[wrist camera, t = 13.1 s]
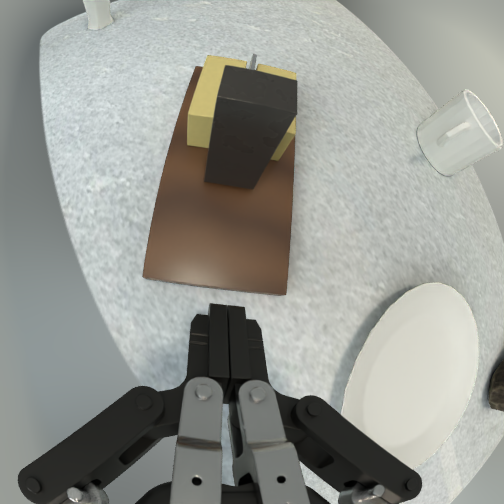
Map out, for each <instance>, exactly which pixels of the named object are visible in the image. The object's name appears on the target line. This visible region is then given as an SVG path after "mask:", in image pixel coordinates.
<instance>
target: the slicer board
mask: <svg viewBox="0 0 504 504" xmlns="http://www.w3.org/2000/svg"><path fill="white" fill-rule="evenodd" d="M202 69H203V67H199V66H196V67H195V70H194V72H193V75H192V78H191V80H190V83H189V86H188V89H187V92H186V95H185V98H184V101H183V104H182V107H181V110H180V113H179V116H178V119H177V122H176V126H175V129H174V132H173V136H172V139H171V143H170V146H169V150H168V153H167V157H166V161H165V165H164V169H163V173H162V177H161V181H160V185H159V189H158V194H157V198H156V203H155V208H154V212H153V217H152V222H151V228H150V233H149V238H148V244H147V250H146V256H145V263H144V269H143V277H144V278H145V279H149V280H156V281H163V282H170V283H177V284H184V285H192V286H199V287H207V288H215V289H223V290H231V291H240V292H249V293H258V294H268V295H278V296H281V295H286V291H287V279H288V266H289V253H290V238H291V221H292V203H293V182H294V157H295V136H294V137H293V139H292V141H291V142H290V144H289V145H288V147H287V148H286V150H285V151H284V153H283V155H282V156H281V158H280V159H279V161H276V160H271V159H270V161H269V163H268V165H267V166H266V168H265V170H264V172H263V173H262V175H261V177H260V179H259V180H258V182H257V184H256V186H255V188H254V189H253V190H252V189H247V188H241V187H235V186H229V185H222V184H216V183H210V182H204V177H205V169H206V162H207V155H208V148H204V147H197V146H190V145H187V127H188V112H189V109H190V105H191V102H192V99H193V96H194V93H195V90H196V87H197V84H198V81H199V78H200V75H201V72H202Z"/></svg>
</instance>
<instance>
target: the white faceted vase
mask: <svg viewBox="0 0 504 504" xmlns="http://www.w3.org/2000/svg"><path fill="white" fill-rule="evenodd" d="M83 2H84V5H85V9H86V13H87V16H88V19H89V21H88V29H92V30H100V29H102V28H104V27H106V26H108V25H110V24H111V23H113V22H114V20H113V18H112V16H111V14H110V0H83Z"/></svg>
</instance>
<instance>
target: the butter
mask: <svg viewBox="0 0 504 504" xmlns="http://www.w3.org/2000/svg"><path fill="white" fill-rule="evenodd" d="M246 64H247V61H242V60H237V59H231V58H225V57H218V56H211V55H208V56H207V58H206V61H205V63H204V66H203V69H202V72H201V75H200V78H199V81H198V84H197V87H196V90H195V93H194V96H193V99H192V102H191V105H190V109H189V112H188V127H187V145H190V146H197V147H204V148H209V141H210V134H211V128H212V122H213V115H214V109H215V104H216V98H217V94H218V90H219V86H220V82H221V78H222V75H223V71H224V67H225V65H230V66H236V67H242V68H246ZM256 70H257V71H261V72H266V73H270V74H274V75H278V76H282V77H286V78H290V79H293V80H296V73H294V72H291V71H287V70H283V69H279V68H275V67H271V66H267V65H263V64H258V66H257V68H256ZM295 134H296V117H295V118H294V120H293V122H292V123H291V125H290V127H289V128H288V130H287V132H286V134H285V135H284V137H283V139H282V140H281V142H280V144H279V146H278V147H277V149H276V151H275V152H274V154H273V156H272V158H271V160H276V161H279V159H280V158H281V156H282V155H283V153H284V151H285V150H286V148H287V147H288V145H289V144H290V142H291V141H292V139H293V137H294V136H295Z"/></svg>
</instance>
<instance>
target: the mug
mask: <svg viewBox="0 0 504 504" xmlns="http://www.w3.org/2000/svg"><path fill="white" fill-rule="evenodd" d="M417 137H418V142H419V144H420V147H421V149H422V151H423V153H424V155H425V156H426V158H427V160H428V161H429V162H430V163H431V165H432V166H433V167H434V168H435V169H436V170H437V171H438V172H439V173H441V174H443V175H445V176H452V175H453V174H455V173H457V172H459V171H461V170H463V169H465V168H467V167H468V166H470V165H472V164H474V163H476V162H478V161H479V160H481V159H483V158H485V157H487V156H488V155H490V154H492V153H494V152H495V151H498V150H499V149H501V148H502V146H503V141H502V137H501V133H500V131H499V128H498V126H497V124H496V122H495V120H494V118H493V117H492V115H491V113H490V112H489V110H488V109H487V108H486V106H485V105H484V103H483V102H482V101H481V100H480V99H479V98H478V97H477V96H476V95H475V94H474V93H473V92H471V91H470V90H465V89H464V90H463V91H462V92H460V93H459V94H458V95H457V96H455V97H454V98H453V99H452V100H451V101H449V102H448V103H447V104H445V105H444V106H443V107H442V108H440V109H439V110H438V111H436V112H435V113H434V114H433V115H431V116H430V117H429V118H428V119H426V120H425V121H424V122H423V123H421V124H420V125H419V127H418V129H417Z"/></svg>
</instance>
